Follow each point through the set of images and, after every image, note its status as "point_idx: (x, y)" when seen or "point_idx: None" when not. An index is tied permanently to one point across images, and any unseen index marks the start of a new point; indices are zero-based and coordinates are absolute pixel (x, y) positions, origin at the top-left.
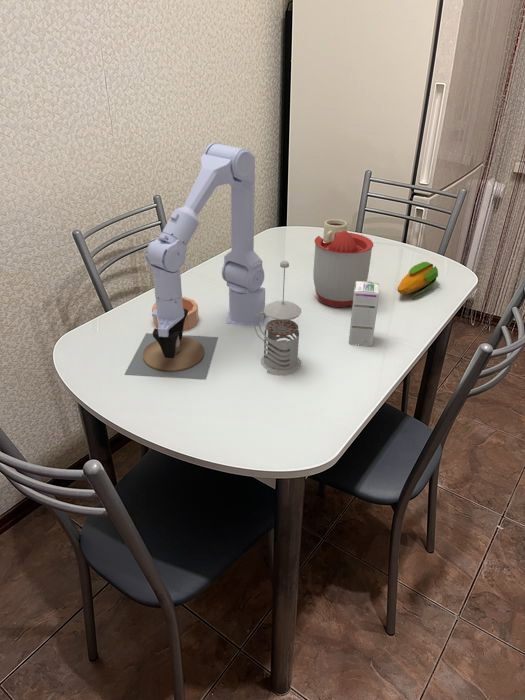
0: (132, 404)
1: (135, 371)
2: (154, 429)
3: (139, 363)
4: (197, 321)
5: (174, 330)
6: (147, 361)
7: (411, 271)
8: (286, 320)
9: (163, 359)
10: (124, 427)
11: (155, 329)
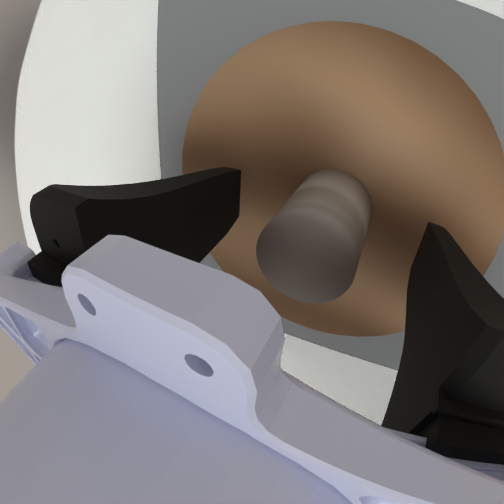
0: (58, 80)
1: (182, 21)
2: (27, 156)
3: (249, 18)
4: None
5: (428, 282)
6: (233, 63)
7: None
8: None
9: (256, 148)
10: (17, 94)
11: (69, 217)
